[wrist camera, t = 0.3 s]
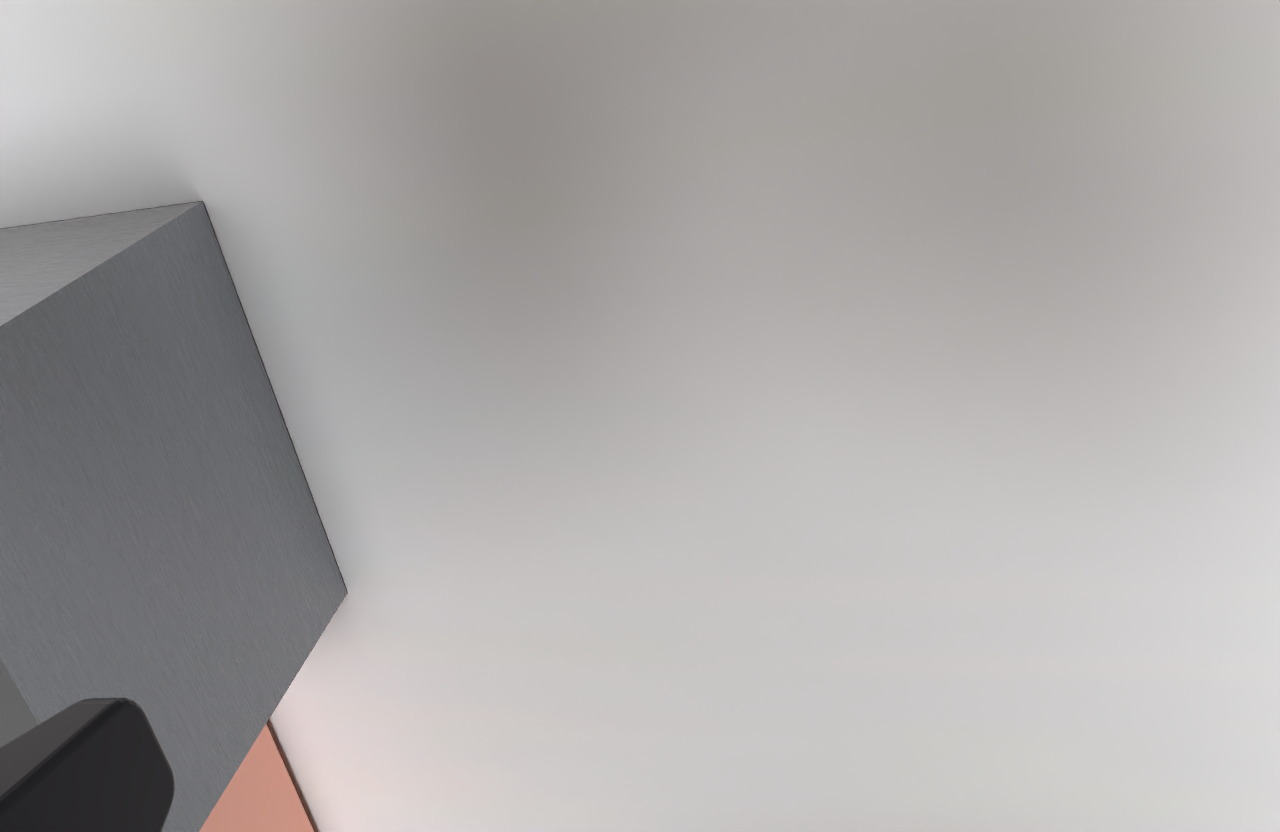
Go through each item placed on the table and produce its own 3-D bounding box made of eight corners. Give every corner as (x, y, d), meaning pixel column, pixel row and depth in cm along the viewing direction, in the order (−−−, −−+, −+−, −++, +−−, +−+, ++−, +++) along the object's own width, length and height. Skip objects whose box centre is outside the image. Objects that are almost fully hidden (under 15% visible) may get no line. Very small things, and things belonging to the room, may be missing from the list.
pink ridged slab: (329, 862, 32) (218, 1094, 26) (252, 861, 32) (127, 1088, 26) (95, 333, 24) (-137, 496, 18) (-1, 343, 24) (-256, 505, 19)
